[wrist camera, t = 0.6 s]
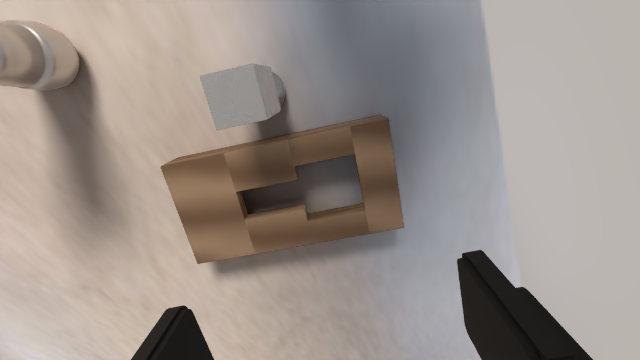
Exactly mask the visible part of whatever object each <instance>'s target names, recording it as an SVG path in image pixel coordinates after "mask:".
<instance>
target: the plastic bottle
mask: <svg viewBox="0 0 640 360" xmlns="http://www.w3.org/2000/svg"><path fill="white" fill-rule="evenodd" d="M78 70H79V57H78V54H77V51H76V49H75V48H74V46H73V45H72V43H71V42H70V41H69V40H68V38H67V37H65V36H64V35H63V34H62V33H61V32H59V31H58V30H56V29H53V28H51V27H49V26H46V25H43V24H41V23H37V22H34V21H16V20H12V21H0V86H11V87H19V88H24V89H31V90H42V91H48V90H54V89H58V88H62V87H64V86H67V85H68V84H70V83H71V82H72V81H73V80H74V79H75V77H76V75H77V73H78Z"/></svg>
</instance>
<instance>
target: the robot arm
mask: <svg viewBox="0 0 640 360" xmlns="http://www.w3.org/2000/svg"><path fill="white" fill-rule="evenodd" d="M457 264H458V272H459V281H460V289H461V297H462V305H463V314H464V322H465V327H466V330H467V333H468V335H469V337H470V339H471V341H472V343H473V344H474V346H475V348H476V350H477V352H478V354H479V355H480V357H481V359H482V360H593V359H592V358H591V357H590V356H589V355H588V354H587V353H586V352H585V351H584V350H583V349H582V347H580V346H579V344H578V343H577V342H576V341H575V340H574V339H573V338H572V337H571V336H570V335H569V334H568V333H567V332H566V330H565V329H564V328H563V327H562V326H561V325H560V324H559V323H558V322H557V321H556V320H555V319H554V318H553V316H551V314H550V313H549V312H548V311H547V310H546V309H545V308H544V307H543V306H542V305H541V304H540V303H539V302H538V300H537V299H536V298H535V297H534V296H533V295H532V294H531V293H530V292H529V291H528V290H527V289H526V288H523V287H519V288H515V287H514V286H513V285H512V284H511V283H510V281H509V280H508V279H507V278H506V277H505V276H504V275H503V273H502V272H501V271H500V270H499V269H498V268H497V267H496V266H495V264H494V263H493V262H492V261H491V260H490V259H489V258H488V257H487V255H486V254H485V253H484V252H483V251H482V250H477V251H472V252H467V253H463V254H462V258H460V259H458V260H457ZM131 360H214V358H213V356H212V354H211V352H210V350H209V347H208V345H207V343H206V341H205V338H204V336H203V334H202V332H201V329H200V327H199V325H198V323H197V321H196V318H195V316H194V314H193V312H192V310H191V309H188V308H187V307H186V306H179V307H173V308H169V309H167V310H166V311H165V312H164V313H163V315H162V316H161V318H160V319H159V321H158V322H157V323H156V325H155V326H154V328H153V329H152V330H151V332H150V333H149V335H148V336H147V338H146V339H145V340H144V342H143V343H142V345H141V346H140V348H139V349H138V350H137V352H136V353H135V355H134V356H133V357H132V359H131Z"/></svg>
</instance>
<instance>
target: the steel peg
mask: <svg viewBox="0 0 640 360" xmlns="http://www.w3.org/2000/svg"><path fill="white" fill-rule="evenodd" d="M200 79H201V82H202V85H203V88H204V92H205V95H206V98H207V101H208V104H209V108H210V111H211V114H212V117H213V120H214V123H215V127H216V130H221V129H226V128H230V127H235V126H240V125H244V124H249V123H253V122H258V121H263V120H267V119H269V118H271V117H272V116H274V115H275V114H277V113H278V112H280V111H281V107H280V106H281V105H282V104H283V102H284V99H285V87H284V84H283V82H282V80H281V79H280V78H279V77H278V76H277V75H276V74H274V73H272V71H271V67H267V66H262V65H257V64H249V65H245V66H240V67H236V68H232V69H228V70H223V71H219V72H215V73H211V74H206V75H202V76H200Z"/></svg>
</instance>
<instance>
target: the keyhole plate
mask: <svg viewBox="0 0 640 360" xmlns="http://www.w3.org/2000/svg"><path fill="white" fill-rule="evenodd" d="M353 154H355V159H356V165H357V170H358V175H359V181H360V186H361V192H362V197H363V204H357V205H352V206H347V207H341V208H336V209H330V210H325V211H320V212H314V213H309V214H308V211H307V207H306V204H302V205H297V206H291V207H286V208H281V209H275V210H270V211H265V212H259V213H254V214H249V215H248V213H247V209H246V206H245V203H244V200H243V196H242V193H241V191H243V190H248V189H253V188H258V187H263V186H268V185H273V184H279V183H284V182H289V181H294V180H298V176H299V174H298V170H297V166H298V165H303V164H308V163H313V162H318V161H323V160H328V159H333V158H338V157H343V156H348V155H353ZM161 169H162V172H163V175H164V177H165V180H166V183H167V185H168V188H169V190H170V193H171V196H172V198H173V201H174V203H175V206H176V209H177V211H178V214H179V216H180V219H181V222H182V224H183V227H184V229H185V232H186V235H187V237H188V240H189V243H190V245H191V248H192V250H193V253H194V256H195V258H196V261H197V263H198V264H200V263H206V262H212V261H217V260H223V259H229V258H234V257H240V256H246V255H251V254H257V253H263V252H268V251H274V250H280V249H286V248H291V247H297V246H303V245H308V244H314V243H320V242H325V241H331V240H337V239H343V238H348V237H354V236H360V235H365V234H371V233H377V232H382V231H388V230H394V229H399V228H404V223H403V216H402V209H401V202H400V195H399V189H398V182H397V175H396V168H395V161H394V154H393V147H392V140H391V133H390V126H389V120H388V118H386V117H385V116H383V115H378V116H373V117H368V118H364V119H359V120H354V121H349V122H345V123H340V124H335V125H330V126H326V127H321V128H316V129H311V130H307V131H302V132H297V133H292V134H288V135H283V136H278V137H273V138H269V139H264V140H259V141H254V142H250V143H245V144H240V145H235V146H230V147H226V148H221V149H216V150H211V151H207V152H202V153H197V154H192V155H188V156H183V157H178V158H176V159H174V160H172V161H170V162H168V163H167V164H165V165H163V166H161Z"/></svg>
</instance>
